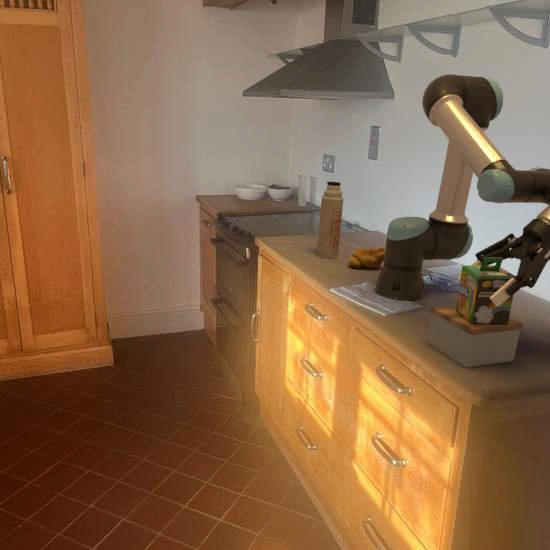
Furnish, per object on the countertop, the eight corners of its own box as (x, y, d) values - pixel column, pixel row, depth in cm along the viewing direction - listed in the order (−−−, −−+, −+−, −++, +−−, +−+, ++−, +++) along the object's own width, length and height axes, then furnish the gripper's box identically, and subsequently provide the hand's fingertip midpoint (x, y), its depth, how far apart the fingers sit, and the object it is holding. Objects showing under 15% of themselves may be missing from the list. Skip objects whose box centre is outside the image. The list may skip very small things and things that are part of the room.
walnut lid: (430, 311, 134) (430, 306, 134) (477, 307, 139) (477, 302, 139) (472, 334, 121) (473, 329, 120) (522, 328, 126) (523, 323, 126)
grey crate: (427, 342, 136) (432, 312, 134) (472, 337, 141) (478, 307, 139) (465, 367, 124) (471, 334, 121) (513, 360, 129) (520, 329, 126)
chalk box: (490, 311, 133) (500, 251, 129) (509, 325, 124) (521, 261, 120) (453, 310, 132) (463, 250, 128) (470, 324, 123) (481, 260, 119)
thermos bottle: (341, 258, 208) (349, 183, 200) (323, 259, 205) (330, 183, 197) (331, 252, 215) (338, 180, 207) (313, 253, 212) (319, 180, 204)
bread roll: (352, 271, 192) (354, 249, 190) (342, 263, 201) (345, 242, 199) (386, 271, 195) (389, 249, 193) (375, 263, 204) (378, 242, 202)
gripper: (595, 255, 114) (517, 323, 116) (522, 228, 138) (457, 285, 139) (579, 229, 112) (499, 300, 113) (507, 206, 135) (441, 265, 136)
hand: (476, 292), depth 126 cm, fingers open, 13 cm apart
